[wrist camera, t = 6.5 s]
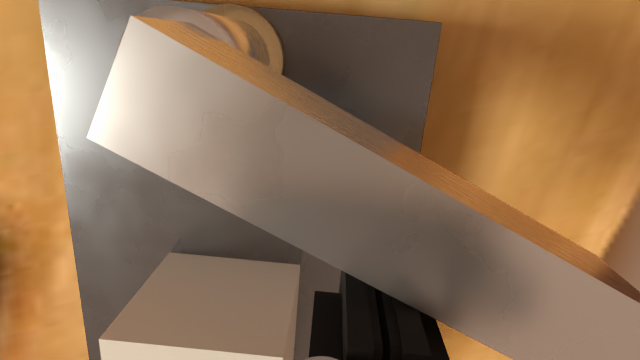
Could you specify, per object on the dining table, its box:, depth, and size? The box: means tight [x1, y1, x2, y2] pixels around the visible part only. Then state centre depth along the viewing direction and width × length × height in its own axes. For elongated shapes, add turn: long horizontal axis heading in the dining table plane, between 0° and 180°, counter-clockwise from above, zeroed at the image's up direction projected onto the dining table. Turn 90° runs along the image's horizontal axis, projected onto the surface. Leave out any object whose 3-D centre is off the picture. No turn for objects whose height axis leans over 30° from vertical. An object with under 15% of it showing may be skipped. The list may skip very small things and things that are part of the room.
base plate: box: [38, 0, 442, 360], centre depth 21 cm, size 22×16×3 cm
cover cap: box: [99, 252, 300, 360], centre depth 18 cm, size 6×6×6 cm
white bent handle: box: [86, 4, 640, 360], centre depth 12 cm, size 14×4×9 cm, turn 61°
